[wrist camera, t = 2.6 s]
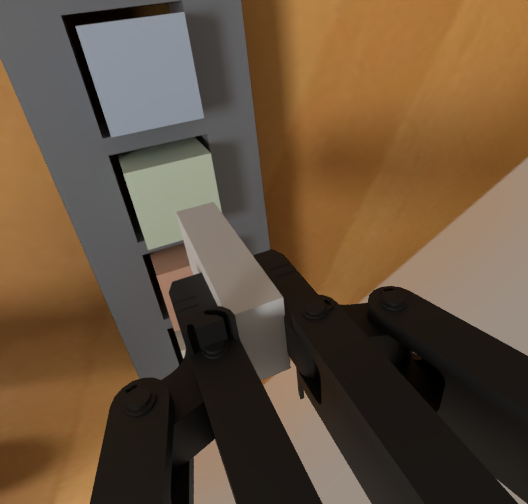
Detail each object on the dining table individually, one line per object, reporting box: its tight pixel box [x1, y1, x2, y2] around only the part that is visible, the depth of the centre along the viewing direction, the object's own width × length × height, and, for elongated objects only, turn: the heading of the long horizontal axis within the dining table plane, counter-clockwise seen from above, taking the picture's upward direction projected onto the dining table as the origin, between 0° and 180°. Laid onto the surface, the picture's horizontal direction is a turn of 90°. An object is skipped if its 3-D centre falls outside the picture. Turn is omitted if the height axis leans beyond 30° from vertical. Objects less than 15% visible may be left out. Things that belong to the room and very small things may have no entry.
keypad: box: [0, 0, 270, 380], centre depth 23 cm, size 10×24×3 cm, turn 7°
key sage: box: [117, 137, 222, 250], centre depth 20 cm, size 4×4×4 cm
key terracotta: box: [149, 243, 193, 332], centre depth 23 cm, size 4×4×4 cm
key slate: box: [75, 12, 204, 137], centre depth 17 cm, size 4×4×4 cm
